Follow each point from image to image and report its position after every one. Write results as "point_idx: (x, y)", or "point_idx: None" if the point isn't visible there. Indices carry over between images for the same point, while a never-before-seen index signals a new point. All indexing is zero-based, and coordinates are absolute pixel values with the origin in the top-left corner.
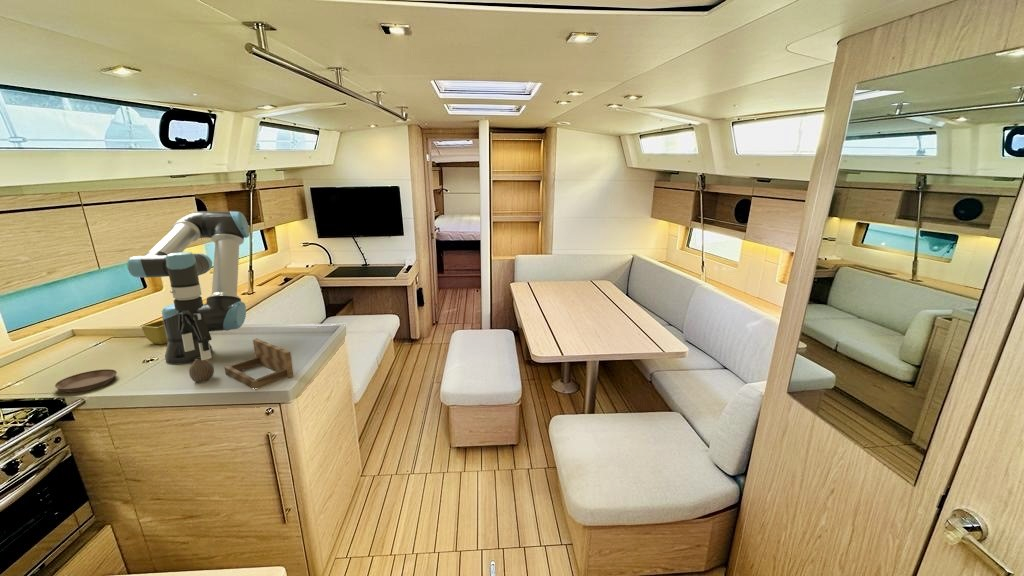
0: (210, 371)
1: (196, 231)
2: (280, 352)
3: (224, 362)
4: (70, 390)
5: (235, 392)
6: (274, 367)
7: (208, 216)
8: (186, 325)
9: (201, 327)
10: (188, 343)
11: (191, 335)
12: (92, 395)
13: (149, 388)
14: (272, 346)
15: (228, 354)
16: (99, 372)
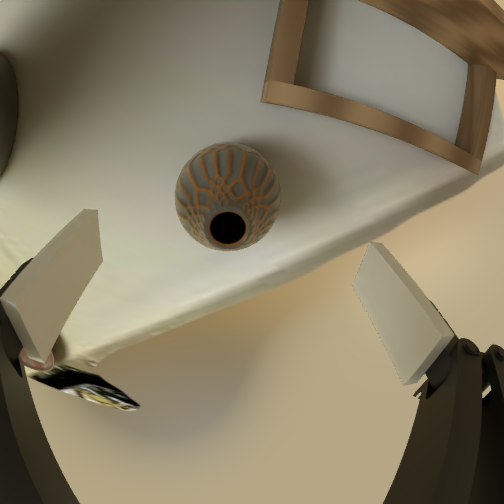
0: (278, 180)
1: None
2: None
3: (115, 39)
4: (49, 361)
5: (425, 196)
6: (429, 27)
7: None
8: (56, 477)
9: (496, 470)
10: (73, 273)
11: (32, 290)
12: (83, 350)
13: (134, 294)
14: (495, 10)
15: (54, 9)
16: None
